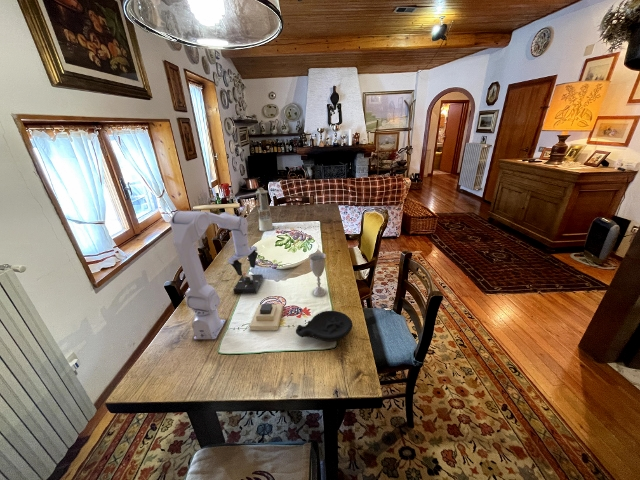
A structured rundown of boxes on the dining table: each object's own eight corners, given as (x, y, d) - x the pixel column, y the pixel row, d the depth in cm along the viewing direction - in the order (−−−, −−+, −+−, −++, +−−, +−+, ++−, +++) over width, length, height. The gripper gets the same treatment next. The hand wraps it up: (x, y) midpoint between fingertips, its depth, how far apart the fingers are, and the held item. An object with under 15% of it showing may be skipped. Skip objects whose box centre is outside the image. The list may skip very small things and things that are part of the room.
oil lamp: (294, 324, 93) (293, 313, 91) (345, 315, 96) (345, 304, 94) (299, 357, 80) (298, 345, 78) (358, 345, 83) (358, 333, 81)
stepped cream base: (277, 330, 91) (276, 321, 89) (250, 330, 92) (248, 321, 90) (283, 308, 102) (282, 300, 100) (259, 308, 102) (257, 300, 101)
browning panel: (256, 293, 112) (255, 288, 111) (234, 293, 113) (233, 288, 111) (263, 278, 123) (262, 274, 122) (243, 279, 123) (242, 274, 122)
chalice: (317, 286, 115) (314, 251, 107) (330, 290, 111) (328, 254, 104) (308, 295, 109) (305, 258, 102) (321, 299, 106) (319, 262, 98)
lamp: (274, 225, 190) (269, 185, 177) (271, 232, 178) (265, 190, 165) (261, 226, 190) (254, 186, 178) (256, 232, 178) (249, 190, 166)
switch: (270, 314, 94) (269, 310, 93) (260, 314, 94) (259, 310, 93) (272, 308, 97) (271, 303, 96) (263, 308, 97) (262, 303, 96)
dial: (253, 282, 116) (252, 275, 114) (251, 283, 115) (249, 276, 113) (246, 279, 118) (244, 272, 117) (243, 280, 117) (242, 273, 116)
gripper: (247, 235, 116) (252, 261, 121) (221, 248, 105) (227, 276, 110) (258, 238, 112) (262, 265, 118) (232, 251, 101) (238, 280, 107)
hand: (246, 270), depth 114 cm, fingers open, 7 cm apart
